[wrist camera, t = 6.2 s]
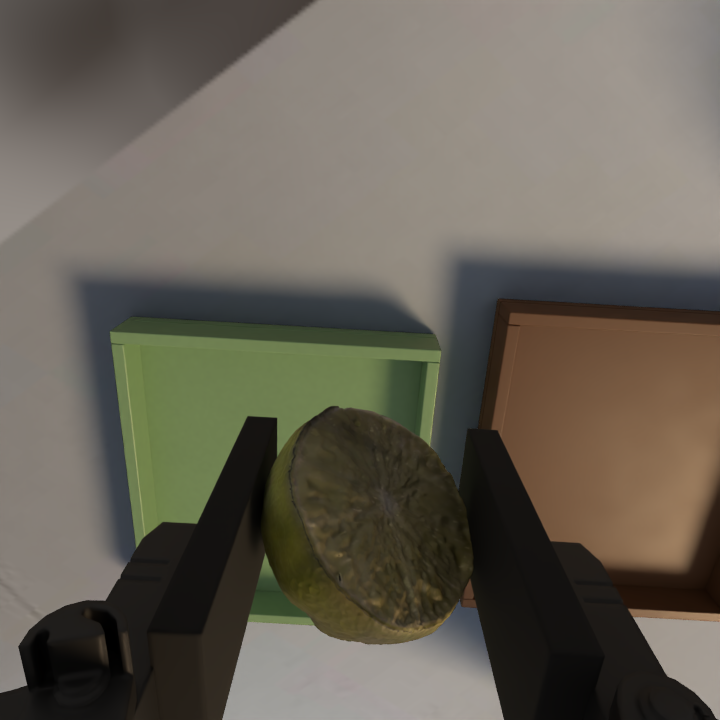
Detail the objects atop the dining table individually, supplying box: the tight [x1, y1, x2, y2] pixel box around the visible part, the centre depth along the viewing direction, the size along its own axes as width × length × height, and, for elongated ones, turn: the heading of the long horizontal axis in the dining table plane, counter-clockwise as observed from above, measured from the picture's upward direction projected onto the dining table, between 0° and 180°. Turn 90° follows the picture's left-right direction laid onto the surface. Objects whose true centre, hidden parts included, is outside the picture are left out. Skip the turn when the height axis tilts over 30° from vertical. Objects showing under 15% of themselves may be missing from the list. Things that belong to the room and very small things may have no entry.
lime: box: [261, 406, 474, 645], centre depth 12 cm, size 4×5×5 cm
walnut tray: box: [460, 299, 720, 622], centre depth 28 cm, size 17×15×2 cm
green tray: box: [110, 317, 441, 625], centre depth 28 cm, size 17×15×2 cm
